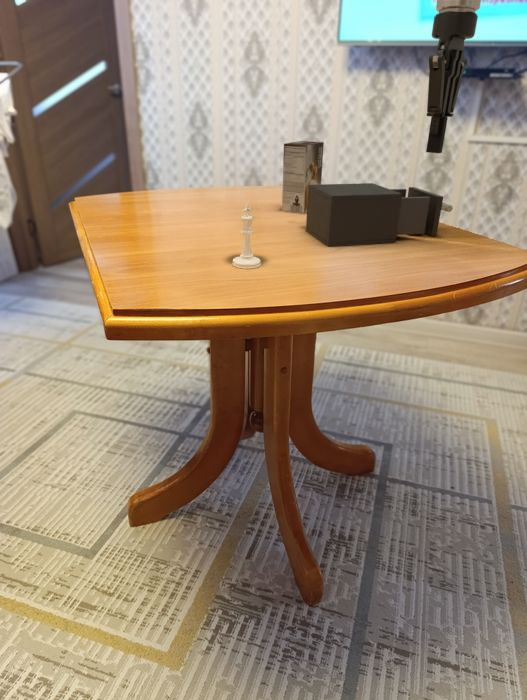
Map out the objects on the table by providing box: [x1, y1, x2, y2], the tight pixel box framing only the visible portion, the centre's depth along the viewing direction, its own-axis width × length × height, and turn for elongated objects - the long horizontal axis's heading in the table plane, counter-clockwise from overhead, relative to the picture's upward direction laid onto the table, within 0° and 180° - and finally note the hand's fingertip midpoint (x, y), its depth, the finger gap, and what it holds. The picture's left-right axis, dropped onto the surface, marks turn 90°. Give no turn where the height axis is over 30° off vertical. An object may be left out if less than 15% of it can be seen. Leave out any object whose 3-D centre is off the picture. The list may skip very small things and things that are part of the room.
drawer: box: [389, 186, 453, 237], centre depth 106 cm, size 18×11×8 cm, turn 106°
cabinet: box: [305, 182, 402, 248], centre depth 103 cm, size 15×13×10 cm
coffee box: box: [281, 140, 325, 214], centre depth 123 cm, size 9×6×16 cm
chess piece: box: [231, 204, 262, 270], centre depth 85 cm, size 5×5×10 cm
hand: (433, 152), depth 102 cm, fingers closed
